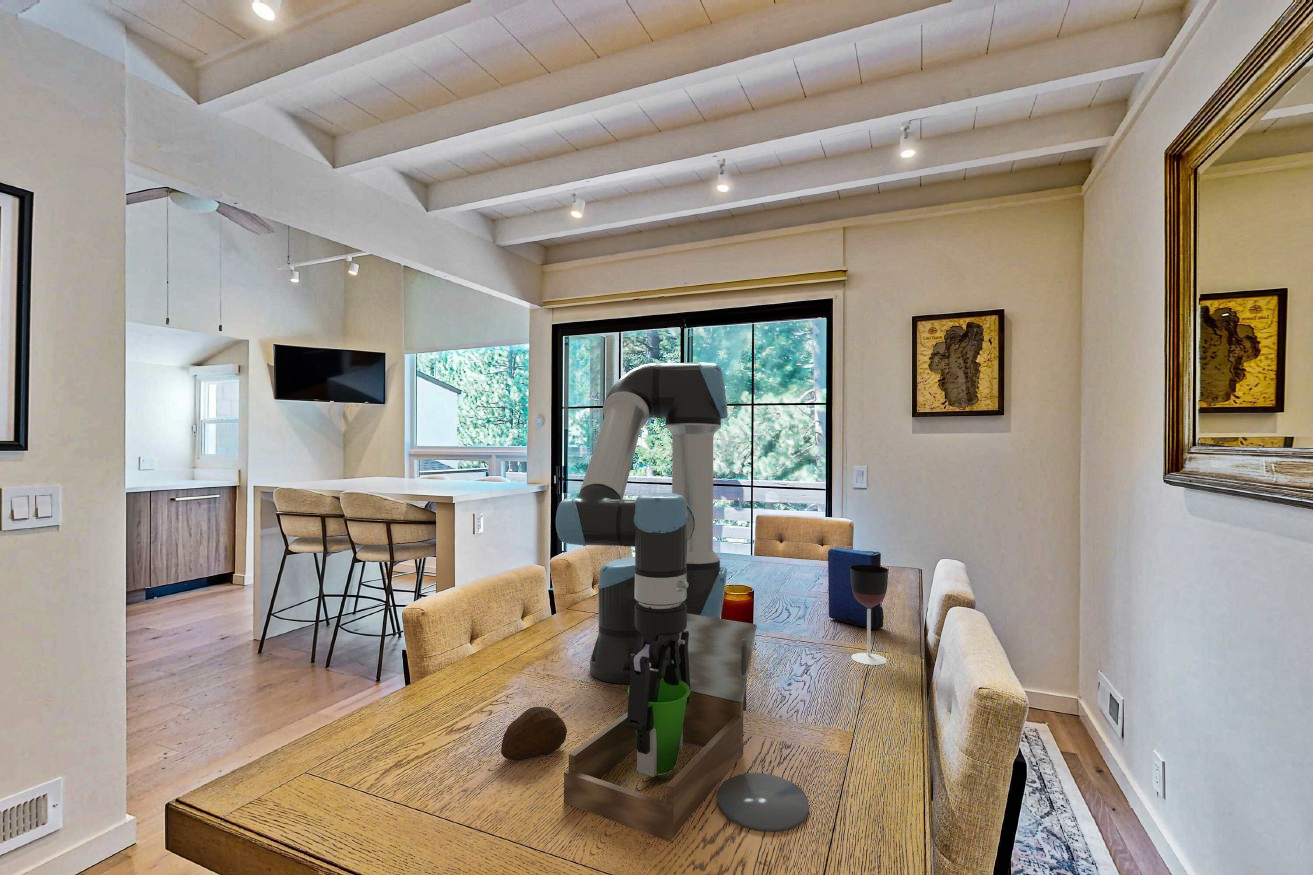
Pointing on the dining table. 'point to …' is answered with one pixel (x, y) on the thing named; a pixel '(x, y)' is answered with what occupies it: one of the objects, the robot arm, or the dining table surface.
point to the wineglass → (869, 601)
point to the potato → (533, 734)
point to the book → (840, 588)
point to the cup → (668, 723)
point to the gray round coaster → (762, 802)
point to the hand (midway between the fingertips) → (660, 759)
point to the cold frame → (707, 722)
